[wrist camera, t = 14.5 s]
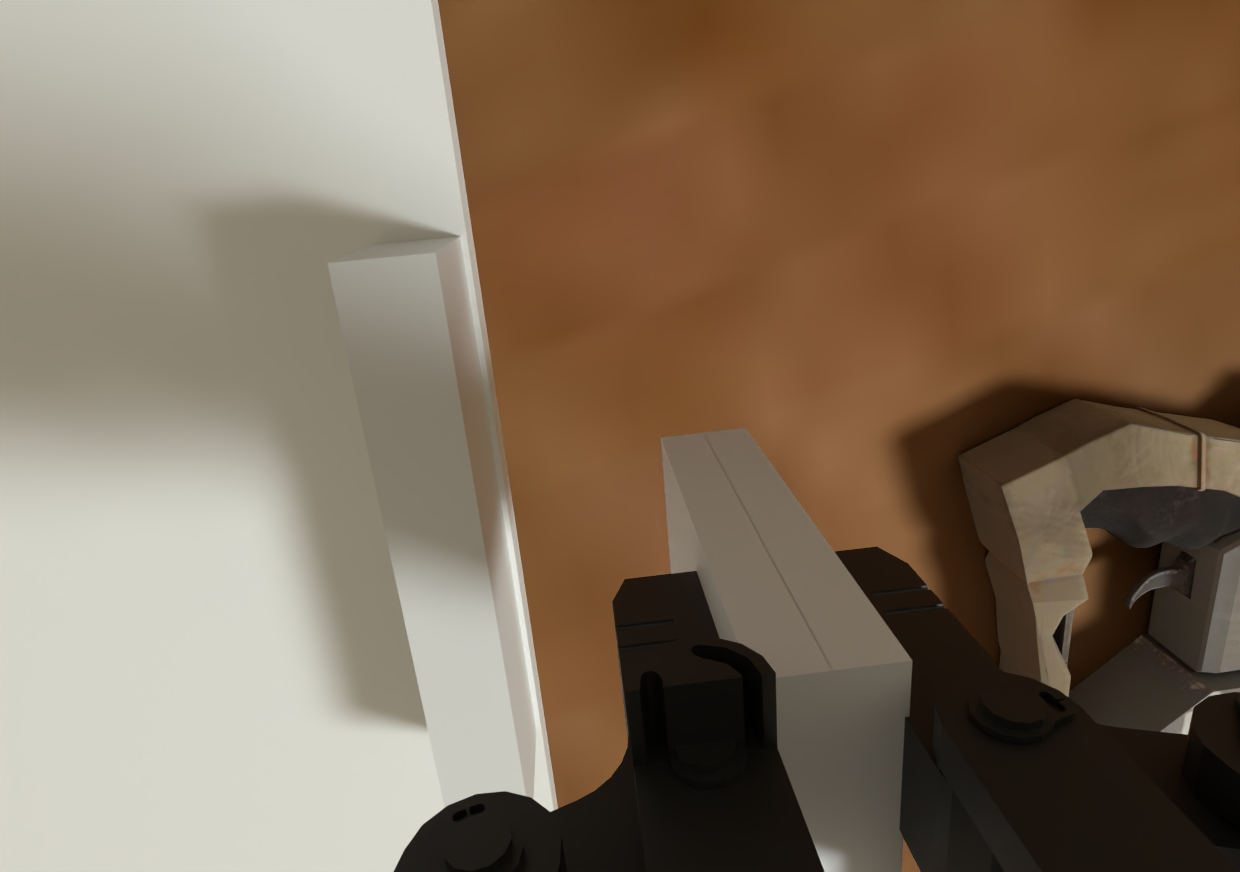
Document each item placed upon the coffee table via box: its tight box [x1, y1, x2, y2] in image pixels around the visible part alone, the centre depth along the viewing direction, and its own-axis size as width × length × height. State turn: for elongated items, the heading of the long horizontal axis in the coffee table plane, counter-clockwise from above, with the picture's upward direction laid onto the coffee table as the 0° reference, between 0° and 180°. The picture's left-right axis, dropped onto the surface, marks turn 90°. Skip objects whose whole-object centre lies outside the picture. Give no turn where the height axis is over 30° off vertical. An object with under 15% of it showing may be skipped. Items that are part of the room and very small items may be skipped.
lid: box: [0, 0, 558, 872], centre depth 13 cm, size 22×15×3 cm
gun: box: [958, 399, 1240, 735], centre depth 29 cm, size 4×24×15 cm
